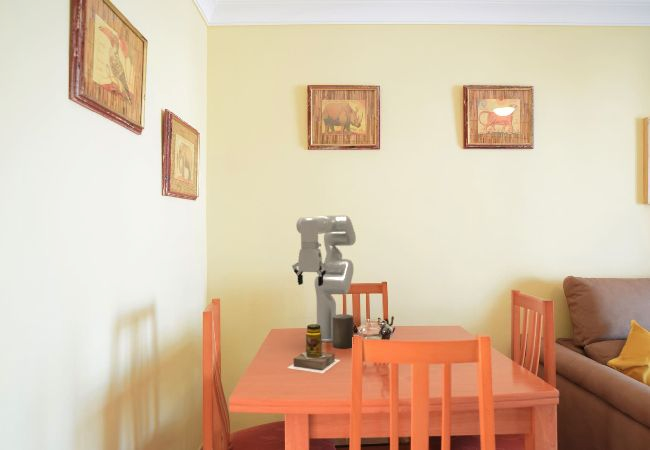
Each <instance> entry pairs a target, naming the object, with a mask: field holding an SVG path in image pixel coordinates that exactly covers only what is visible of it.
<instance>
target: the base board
mask: <svg viewBox="0 0 650 450" xmlns="http://www.w3.org/2000/svg"><path fill="white" fill-rule="evenodd" d="M340 361H341V359H336V358H335V361H334V362H333V363H332V364H330V365H329V366H327V367H326V368H325V369H323V370H315V369H308V368H301V367H295V366H294V363H293V364H291V365H289V366H287V369H293V370H298V371H299V370H300V371H305V372H313V373H317V374H325V372H327V371H328V370H330V368H332V367H333V366H335V365H336V364H337V363H338V362H340Z"/></svg>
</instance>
